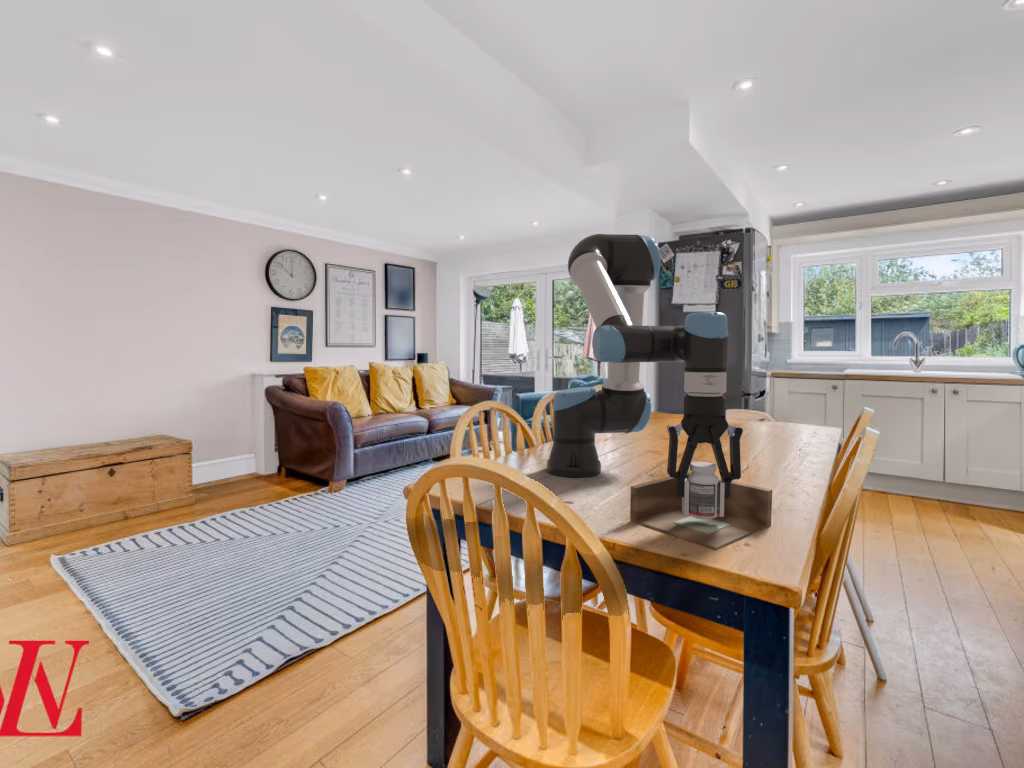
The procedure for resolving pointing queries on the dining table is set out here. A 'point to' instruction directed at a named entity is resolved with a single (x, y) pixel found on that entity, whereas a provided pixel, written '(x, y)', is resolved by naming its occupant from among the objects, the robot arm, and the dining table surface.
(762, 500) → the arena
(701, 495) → the pill bottle
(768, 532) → the dining table surface
